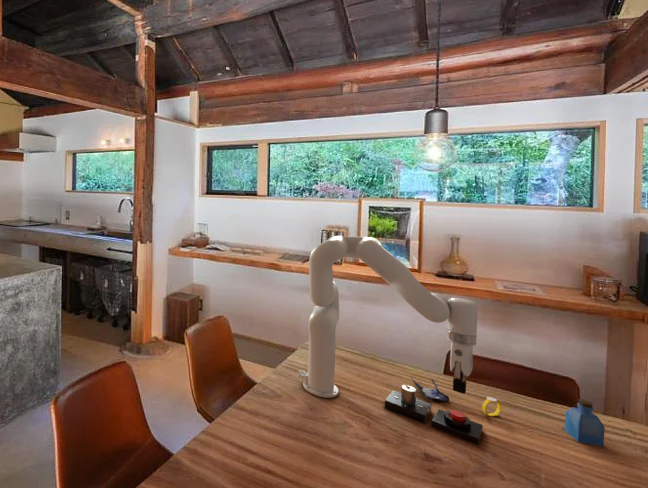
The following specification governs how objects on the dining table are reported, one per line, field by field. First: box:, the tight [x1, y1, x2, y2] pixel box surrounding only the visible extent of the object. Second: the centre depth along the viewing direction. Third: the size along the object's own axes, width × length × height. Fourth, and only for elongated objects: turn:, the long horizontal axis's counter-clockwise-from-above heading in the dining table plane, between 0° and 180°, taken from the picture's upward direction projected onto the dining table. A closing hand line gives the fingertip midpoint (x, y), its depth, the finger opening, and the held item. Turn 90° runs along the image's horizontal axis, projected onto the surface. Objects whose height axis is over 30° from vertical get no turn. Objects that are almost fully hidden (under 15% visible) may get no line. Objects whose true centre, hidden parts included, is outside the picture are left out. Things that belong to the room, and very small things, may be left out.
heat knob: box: [400, 383, 417, 405], centre depth 140 cm, size 4×4×5 cm
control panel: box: [384, 389, 432, 425], centre depth 140 cm, size 12×10×3 cm
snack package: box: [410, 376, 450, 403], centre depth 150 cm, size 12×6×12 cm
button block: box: [431, 408, 484, 446], centre depth 130 cm, size 12×10×4 cm
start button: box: [449, 409, 466, 422], centre depth 130 cm, size 4×4×2 cm
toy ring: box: [481, 396, 502, 417], centre depth 138 cm, size 6×3×6 cm, turn 93°
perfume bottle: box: [564, 398, 606, 447], centre depth 126 cm, size 6×6×12 cm
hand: (459, 391), depth 129 cm, fingers closed
